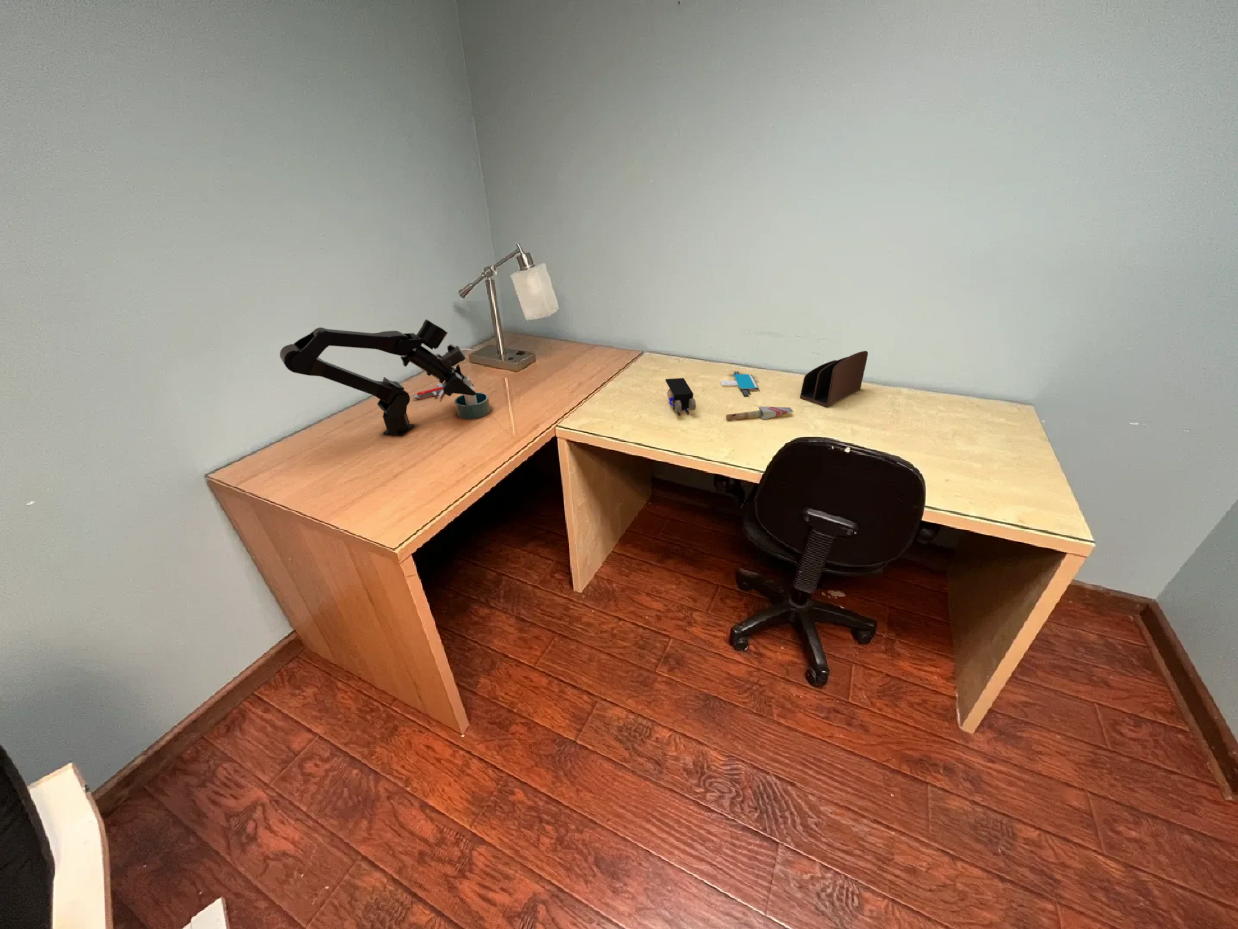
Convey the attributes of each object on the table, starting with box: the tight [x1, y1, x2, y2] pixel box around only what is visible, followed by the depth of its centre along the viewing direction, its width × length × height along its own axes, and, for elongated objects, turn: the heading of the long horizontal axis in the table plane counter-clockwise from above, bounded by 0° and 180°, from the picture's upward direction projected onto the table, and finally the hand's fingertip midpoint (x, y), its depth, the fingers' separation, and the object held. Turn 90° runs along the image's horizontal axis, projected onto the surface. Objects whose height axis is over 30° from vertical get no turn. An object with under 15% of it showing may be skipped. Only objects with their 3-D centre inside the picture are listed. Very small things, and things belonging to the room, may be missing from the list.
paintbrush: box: [725, 405, 794, 422], centre depth 146 cm, size 4×3×20 cm
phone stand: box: [719, 370, 761, 398], centre depth 167 cm, size 20×12×2 cm, turn 178°
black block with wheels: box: [665, 377, 697, 417], centre depth 152 cm, size 7×8×15 cm
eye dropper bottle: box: [463, 374, 477, 406], centre depth 153 cm, size 4×6×12 cm
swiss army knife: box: [410, 382, 445, 400], centre depth 167 cm, size 12×14×2 cm
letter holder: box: [799, 350, 869, 408], centre depth 155 cm, size 10×20×14 cm, turn 130°
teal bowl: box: [454, 391, 491, 420], centre depth 155 cm, size 10×10×4 cm
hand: (474, 390), depth 153 cm, fingers open, 6 cm apart
